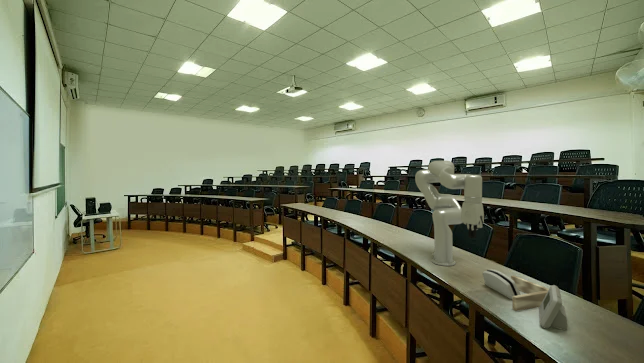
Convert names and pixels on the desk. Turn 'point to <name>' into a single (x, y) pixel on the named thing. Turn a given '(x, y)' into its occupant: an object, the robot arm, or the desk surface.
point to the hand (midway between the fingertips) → (472, 237)
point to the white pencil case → (500, 283)
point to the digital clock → (553, 310)
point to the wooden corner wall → (531, 298)
